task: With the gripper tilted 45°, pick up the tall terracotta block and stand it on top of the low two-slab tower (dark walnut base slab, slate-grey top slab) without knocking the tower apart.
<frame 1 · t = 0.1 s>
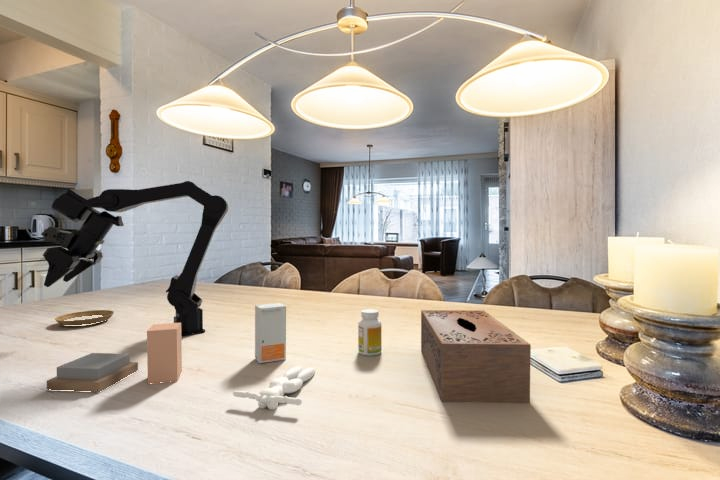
hand: (55, 283, 95), 15 cm above the table, tool tilted 35°, fingers open, 9 cm apart
tower base slab: (95, 383, 71), on the table
skincare box: (270, 360, 82), on the table
decorative figure: (287, 392, 67), on the table
tower top slab: (95, 370, 71), point 2 cm above the table
tissue box cover: (465, 375, 75), on the table
plant saucer: (85, 323, 115), on the table
supplement bottle: (369, 353, 87), on the table
terracotta block: (165, 378, 72), on the table
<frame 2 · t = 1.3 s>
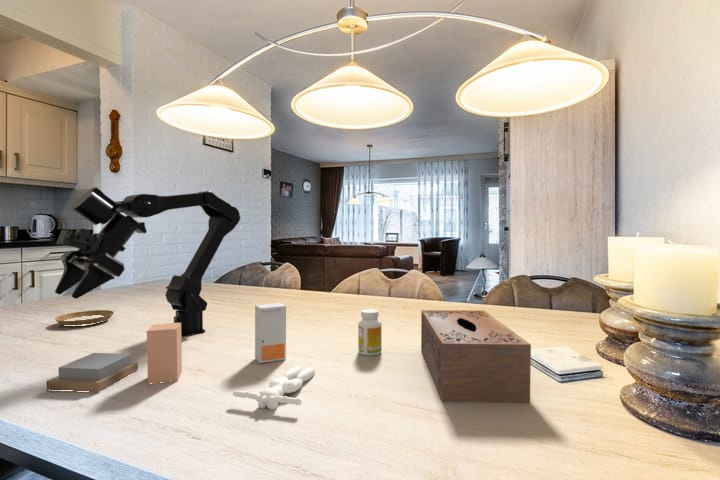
hand: (65, 295, 80), 14 cm above the table, tool tilted 40°, fingers open, 9 cm apart
tower base slab: (95, 384, 71), on the table, touching tower top slab
tower top slab: (96, 370, 71), point 2 cm above the table, touching tower base slab
everything else where it was.
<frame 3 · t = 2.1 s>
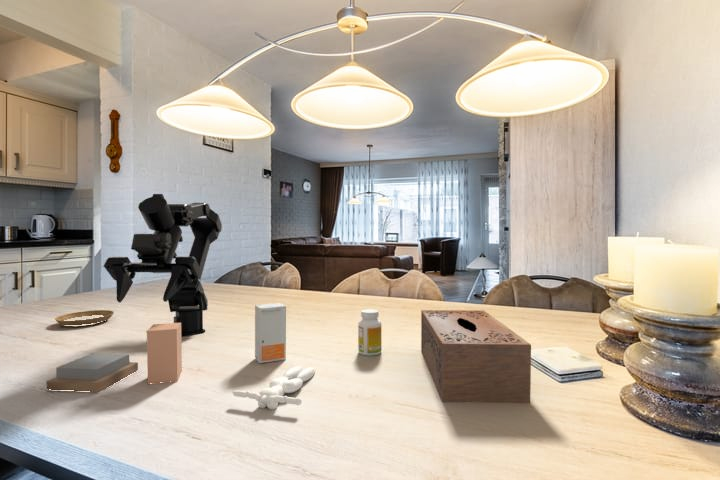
hand: (141, 301, 78), 14 cm above the table, tool tilted 45°, fingers open, 9 cm apart
tower base slab: (95, 384, 71), on the table
tower top slab: (94, 371, 71), point 2 cm above the table
everything else where it was.
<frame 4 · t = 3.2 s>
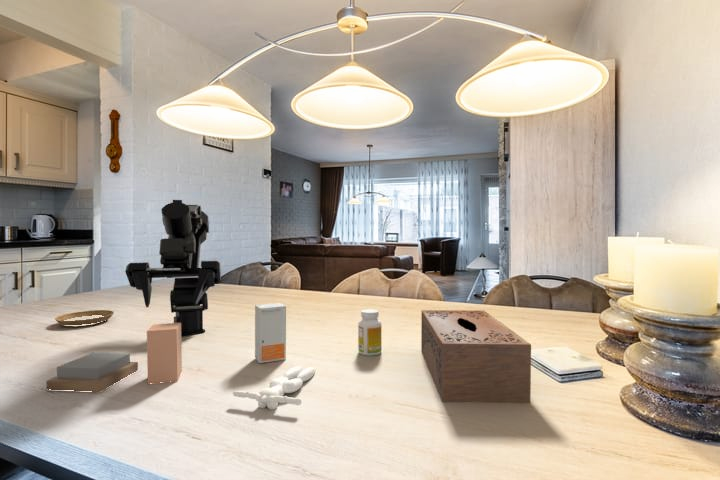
hand: (171, 304, 78), 13 cm above the table, tool tilted 45°, fingers open, 9 cm apart
nothing on the table moved.
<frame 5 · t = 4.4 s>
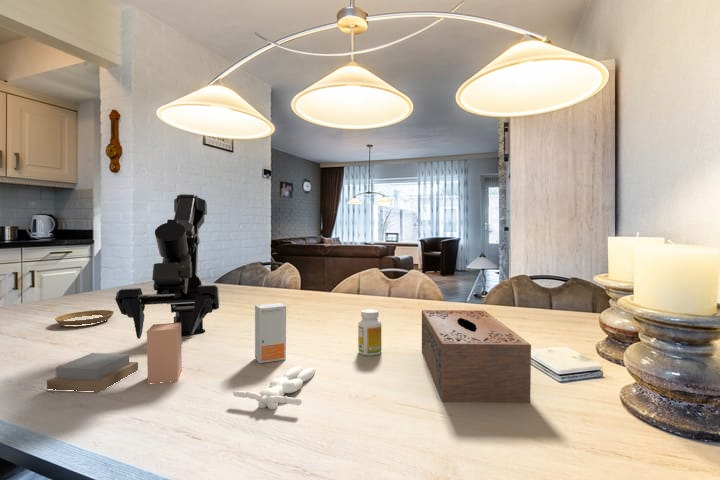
hand: (165, 335, 72), 8 cm above the table, tool tilted 45°, fingers open, 9 cm apart
tower base slab: (95, 383, 71), on the table, touching tower top slab
tower top slab: (94, 371, 71), point 2 cm above the table, touching tower base slab
everything else where it was.
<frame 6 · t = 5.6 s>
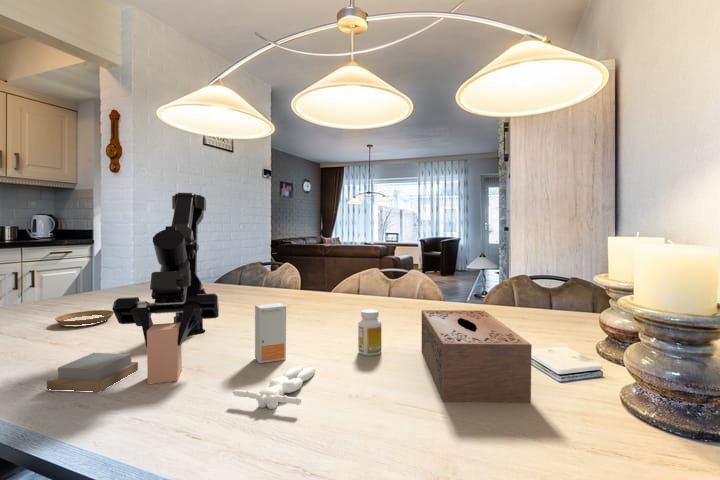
hand: (163, 346, 71), 7 cm above the table, tool tilted 45°, fingers closed on terracotta block, 5 cm apart
terracotta block: (165, 377, 72), on the table, touching gripper
everything else where it was.
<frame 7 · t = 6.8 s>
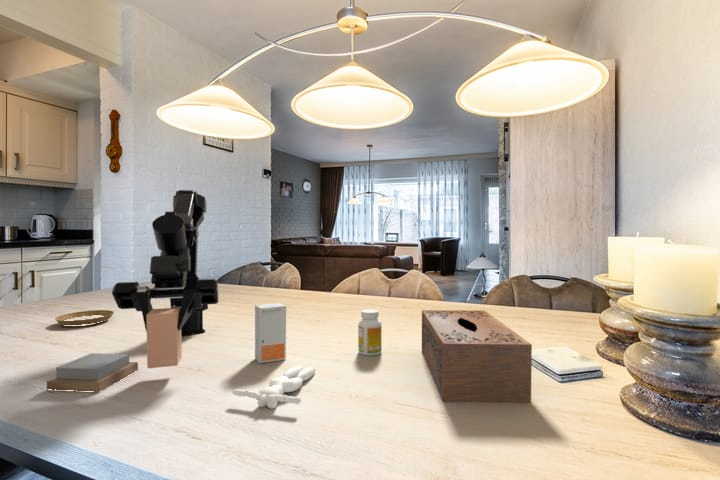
hand: (163, 330, 71), 10 cm above the table, tool tilted 45°, fingers closed on terracotta block, 5 cm apart
terracotta block: (165, 362, 72), point 3 cm above the table, touching gripper
everything else where it was.
when the fingers open (12 cm above the table, at t = 9.8 s): terracotta block drops 2 cm, resting on tower top slab.
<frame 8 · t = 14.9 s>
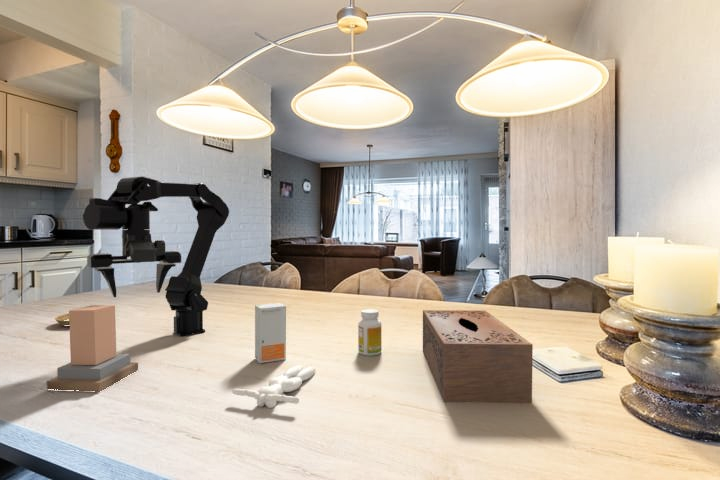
hand: (137, 294, 90), 13 cm above the table, tool pointing down, fingers open, 9 cm apart
tower top slab: (95, 371, 71), point 2 cm above the table, touching terracotta block, tower base slab
terracotta block: (94, 360, 71), point 4 cm above the table, touching tower top slab
everything else where it was.
at the end: terracotta block 0.2 cm off-centre on the tower top slab, point 2.2 cm above the tower top slab's base; terracotta block tilted 2°; tower top slab 0.1 cm off-centre on the tower base slab, point 2.5 cm above the tower base slab's base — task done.
